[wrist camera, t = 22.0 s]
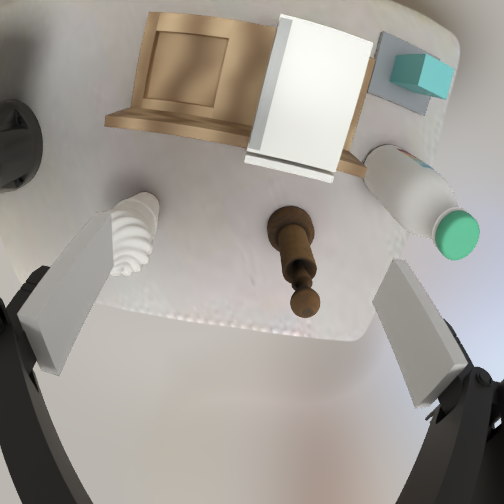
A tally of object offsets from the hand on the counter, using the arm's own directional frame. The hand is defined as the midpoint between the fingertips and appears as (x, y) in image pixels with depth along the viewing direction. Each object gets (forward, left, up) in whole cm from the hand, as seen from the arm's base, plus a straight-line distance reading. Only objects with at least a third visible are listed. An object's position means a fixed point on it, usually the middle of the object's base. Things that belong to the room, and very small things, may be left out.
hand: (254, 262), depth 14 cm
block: (+17, +14, -28) cm, 36 cm away
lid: (+4, +7, -26) cm, 27 cm away
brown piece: (-2, +7, -29) cm, 30 cm away
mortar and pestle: (+8, -12, -29) cm, 32 cm away
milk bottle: (+19, 0, -29) cm, 35 cm away
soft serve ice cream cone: (-13, -13, -29) cm, 34 cm away
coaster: (+17, +14, -29) cm, 37 cm away
